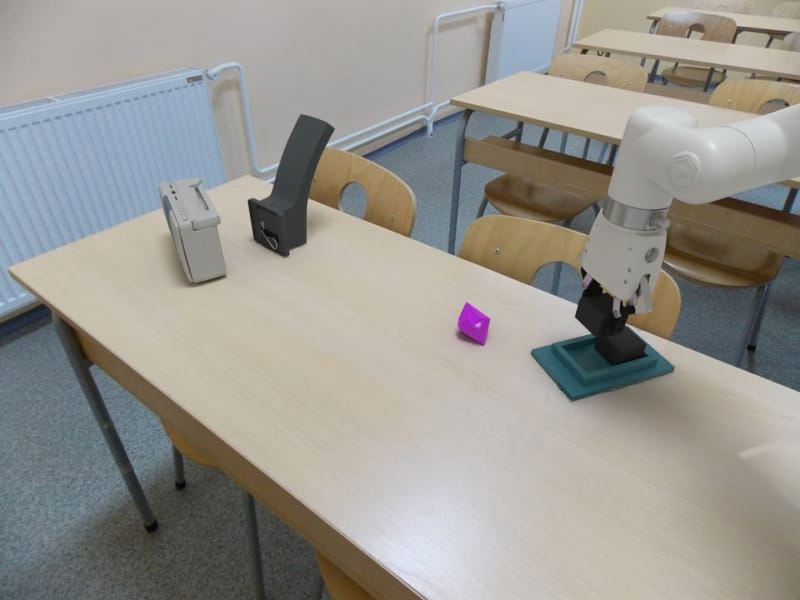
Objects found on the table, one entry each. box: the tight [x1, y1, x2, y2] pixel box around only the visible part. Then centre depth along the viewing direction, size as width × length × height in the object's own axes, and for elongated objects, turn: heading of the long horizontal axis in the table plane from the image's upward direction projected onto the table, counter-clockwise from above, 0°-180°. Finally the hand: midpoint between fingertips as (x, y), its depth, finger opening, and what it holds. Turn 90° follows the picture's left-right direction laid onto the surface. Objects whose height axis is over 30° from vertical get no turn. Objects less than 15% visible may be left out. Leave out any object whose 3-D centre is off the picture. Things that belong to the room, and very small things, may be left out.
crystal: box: [457, 301, 491, 346], centre depth 86 cm, size 5×5×5 cm
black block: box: [594, 325, 647, 366], centre depth 81 cm, size 5×5×4 cm
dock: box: [530, 325, 676, 402], centre depth 81 cm, size 11×19×2 cm, turn 110°
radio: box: [158, 177, 227, 284], centre depth 100 cm, size 21×8×20 cm, turn 28°
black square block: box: [574, 291, 625, 337], centre depth 75 cm, size 5×5×4 cm
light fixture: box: [247, 113, 336, 258], centre depth 107 cm, size 11×17×24 cm, turn 139°
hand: (599, 321), depth 76 cm, fingers closed on black square block, 5 cm apart
